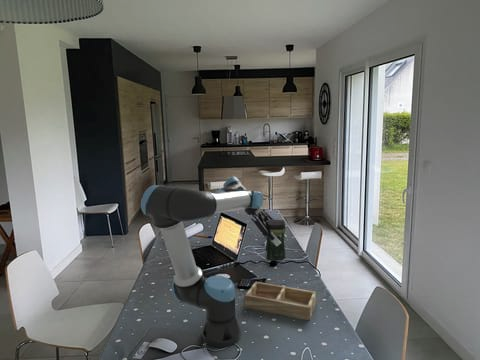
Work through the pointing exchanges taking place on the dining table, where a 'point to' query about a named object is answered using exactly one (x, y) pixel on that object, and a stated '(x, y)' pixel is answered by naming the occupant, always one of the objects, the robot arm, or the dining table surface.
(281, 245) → the coffee jar
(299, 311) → the jar crate
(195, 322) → the dining table surface
